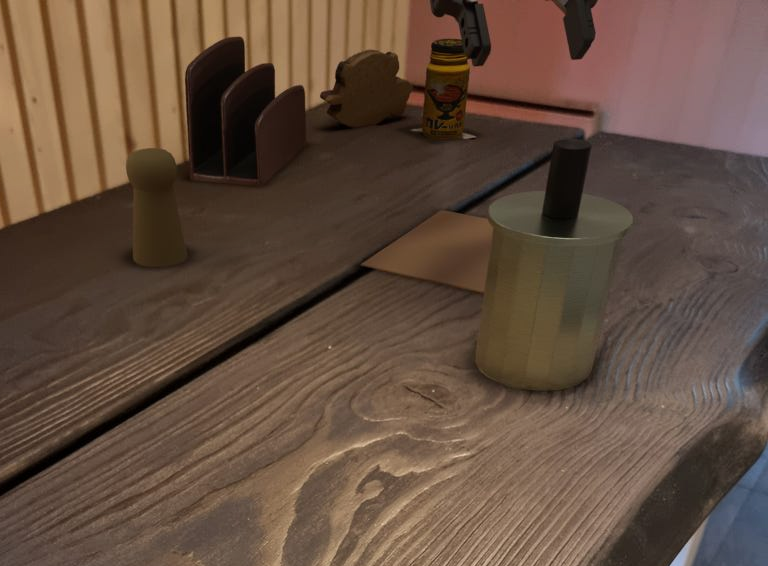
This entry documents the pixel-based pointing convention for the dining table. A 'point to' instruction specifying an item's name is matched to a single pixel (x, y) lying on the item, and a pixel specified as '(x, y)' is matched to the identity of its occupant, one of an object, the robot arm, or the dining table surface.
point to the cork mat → (441, 251)
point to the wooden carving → (367, 89)
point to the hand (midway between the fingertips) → (533, 56)
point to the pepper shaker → (155, 209)
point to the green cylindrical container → (543, 312)
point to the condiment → (446, 91)
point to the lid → (562, 206)
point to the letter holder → (239, 118)
